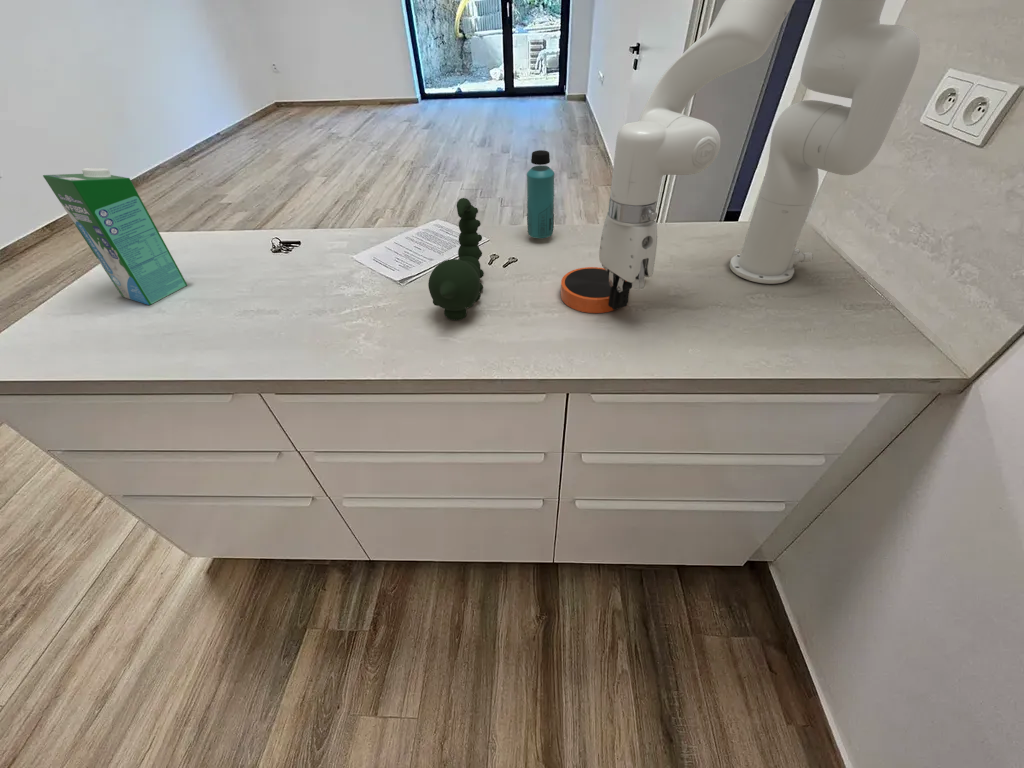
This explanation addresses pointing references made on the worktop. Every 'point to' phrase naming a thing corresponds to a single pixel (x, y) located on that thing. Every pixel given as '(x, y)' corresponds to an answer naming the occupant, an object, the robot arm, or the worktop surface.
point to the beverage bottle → (540, 196)
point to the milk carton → (119, 233)
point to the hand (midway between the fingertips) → (617, 305)
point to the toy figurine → (460, 268)
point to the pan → (586, 290)
